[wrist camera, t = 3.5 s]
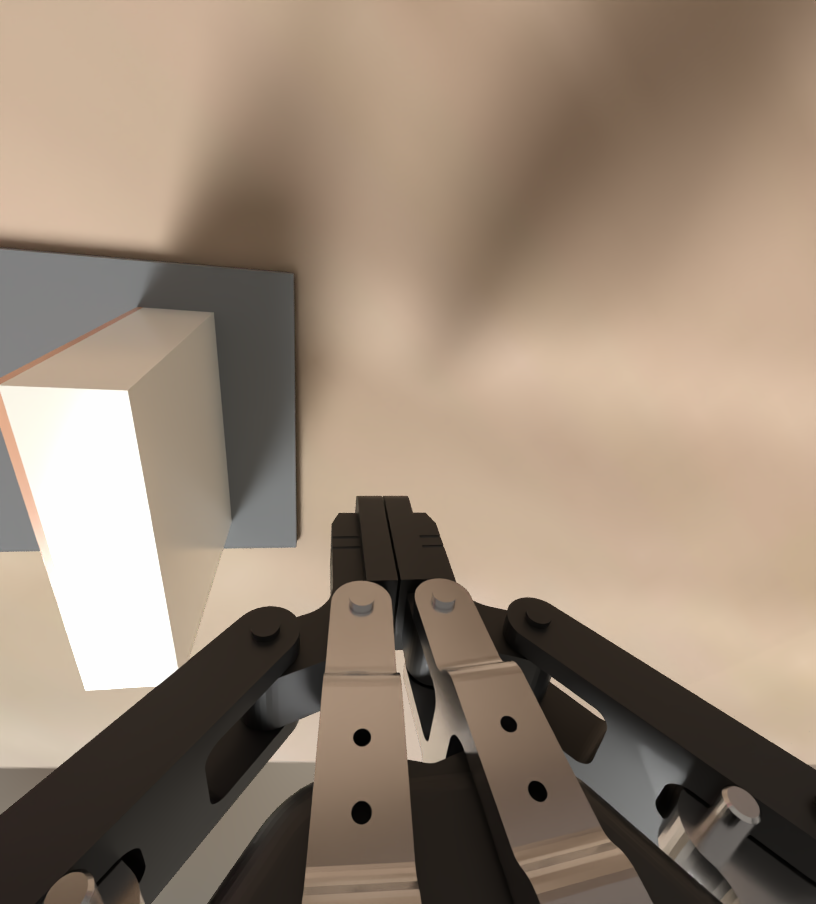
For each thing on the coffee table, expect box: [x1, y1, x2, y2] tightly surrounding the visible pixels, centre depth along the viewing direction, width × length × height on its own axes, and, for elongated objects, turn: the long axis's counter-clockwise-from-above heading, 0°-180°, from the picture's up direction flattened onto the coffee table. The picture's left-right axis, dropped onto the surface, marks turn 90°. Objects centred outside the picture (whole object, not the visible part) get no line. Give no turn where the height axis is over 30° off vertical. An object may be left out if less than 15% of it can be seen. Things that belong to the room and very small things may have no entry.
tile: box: [0, 307, 232, 690], centre depth 15 cm, size 2×9×8 cm, turn 174°
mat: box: [0, 247, 297, 552], centre depth 18 cm, size 14×12×1 cm
